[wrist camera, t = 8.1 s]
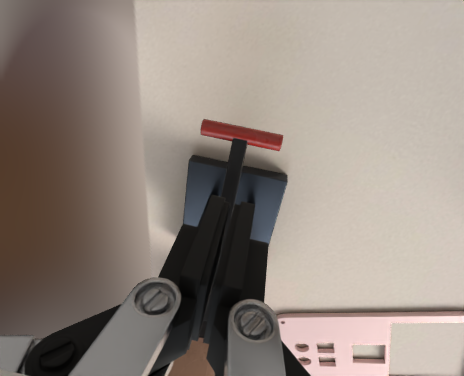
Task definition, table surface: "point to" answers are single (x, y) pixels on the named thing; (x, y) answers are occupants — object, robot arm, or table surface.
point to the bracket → (249, 190)
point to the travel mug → (194, 359)
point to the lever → (236, 162)
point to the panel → (349, 338)
